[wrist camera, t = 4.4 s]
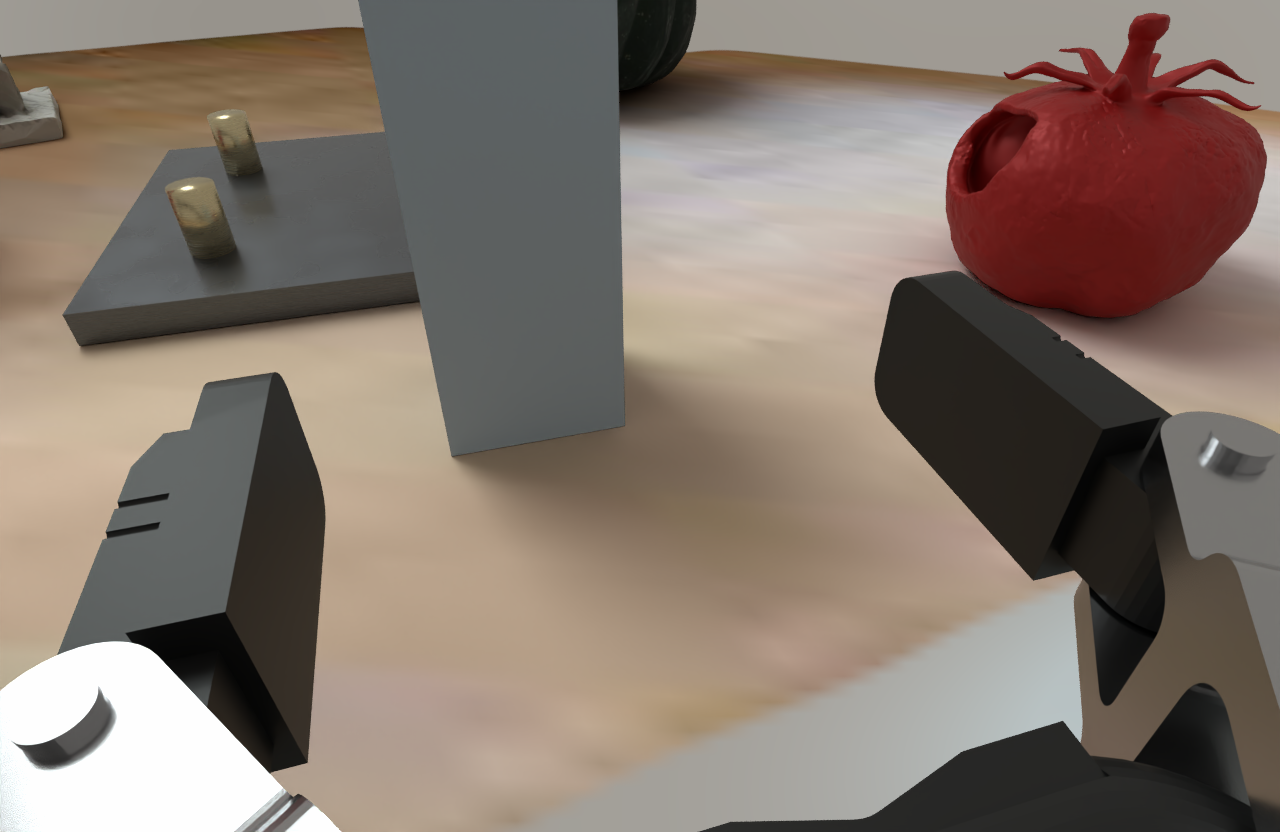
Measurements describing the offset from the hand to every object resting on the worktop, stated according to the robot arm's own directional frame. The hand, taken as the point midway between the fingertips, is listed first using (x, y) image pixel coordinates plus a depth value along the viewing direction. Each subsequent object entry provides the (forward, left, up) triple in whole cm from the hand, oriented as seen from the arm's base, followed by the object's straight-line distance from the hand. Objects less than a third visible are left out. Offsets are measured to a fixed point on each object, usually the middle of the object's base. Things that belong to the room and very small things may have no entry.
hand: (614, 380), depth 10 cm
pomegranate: (+20, -15, -8) cm, 26 cm away
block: (+10, +4, -8) cm, 14 cm away
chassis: (+22, +15, -8) cm, 28 cm away
